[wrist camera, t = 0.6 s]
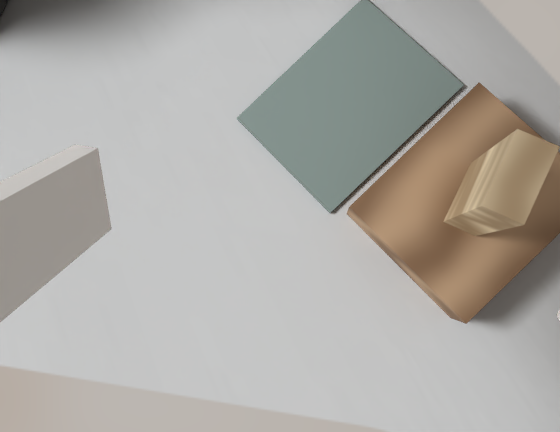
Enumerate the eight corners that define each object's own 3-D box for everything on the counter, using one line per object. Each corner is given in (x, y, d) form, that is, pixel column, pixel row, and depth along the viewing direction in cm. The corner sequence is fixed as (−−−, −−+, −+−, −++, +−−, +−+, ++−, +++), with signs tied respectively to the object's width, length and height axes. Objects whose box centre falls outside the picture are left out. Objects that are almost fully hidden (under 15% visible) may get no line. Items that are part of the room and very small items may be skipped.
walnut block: (346, 213, 37) (349, 206, 33) (462, 102, 38) (479, 82, 34) (450, 317, 36) (466, 323, 32) (572, 199, 36) (602, 190, 32)
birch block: (443, 221, 33) (481, 205, 25) (470, 162, 33) (517, 128, 25) (475, 236, 32) (524, 224, 24) (502, 176, 33) (559, 146, 25)
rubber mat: (237, 119, 39) (236, 118, 39) (364, -1, 40) (364, -4, 39) (330, 213, 38) (330, 212, 37) (462, 86, 38) (463, 84, 37)
